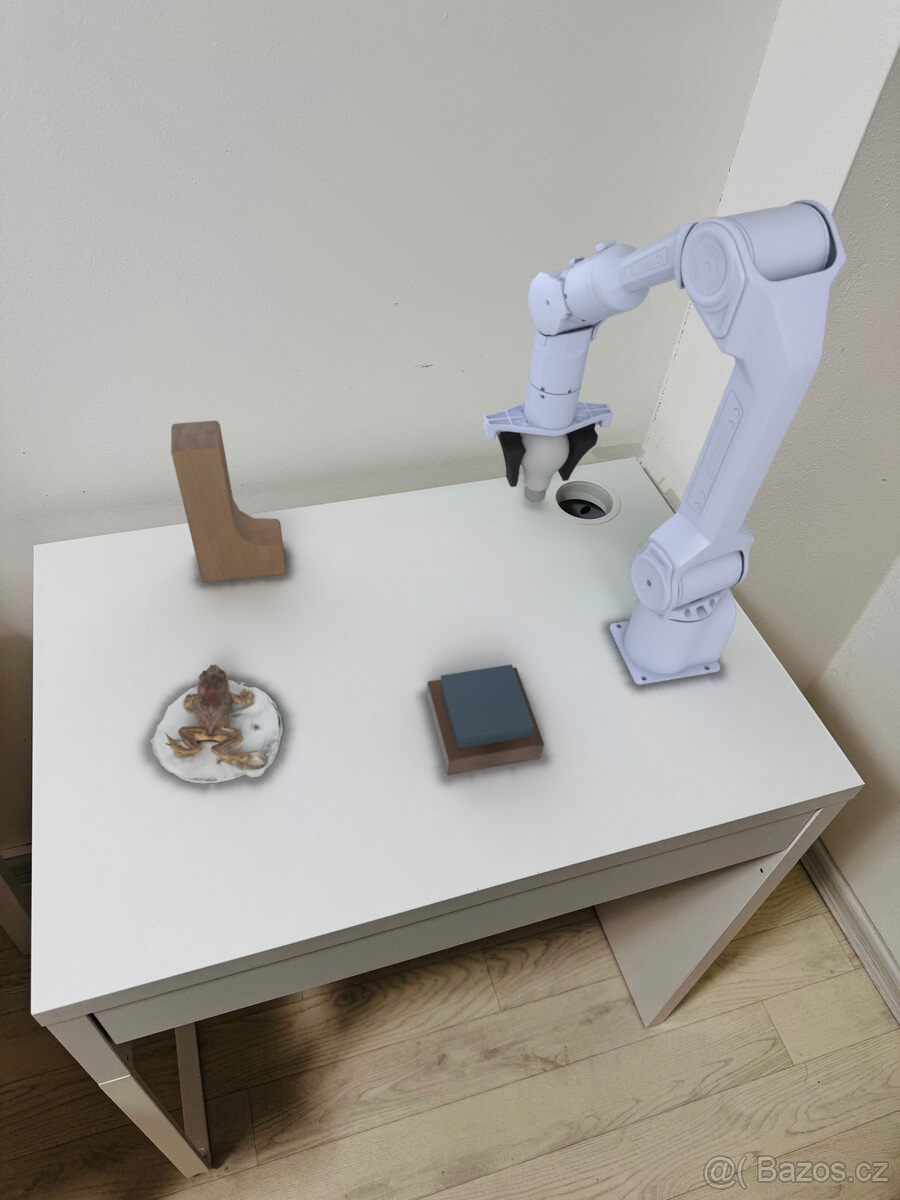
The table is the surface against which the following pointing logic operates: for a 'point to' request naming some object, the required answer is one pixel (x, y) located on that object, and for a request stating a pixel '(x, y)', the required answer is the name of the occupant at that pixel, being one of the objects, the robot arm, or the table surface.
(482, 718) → the top block
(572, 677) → the table surface
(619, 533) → the table surface
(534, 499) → the lightbulb
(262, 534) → the wooden block
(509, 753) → the base block
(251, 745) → the frog figurine
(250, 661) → the table surface
